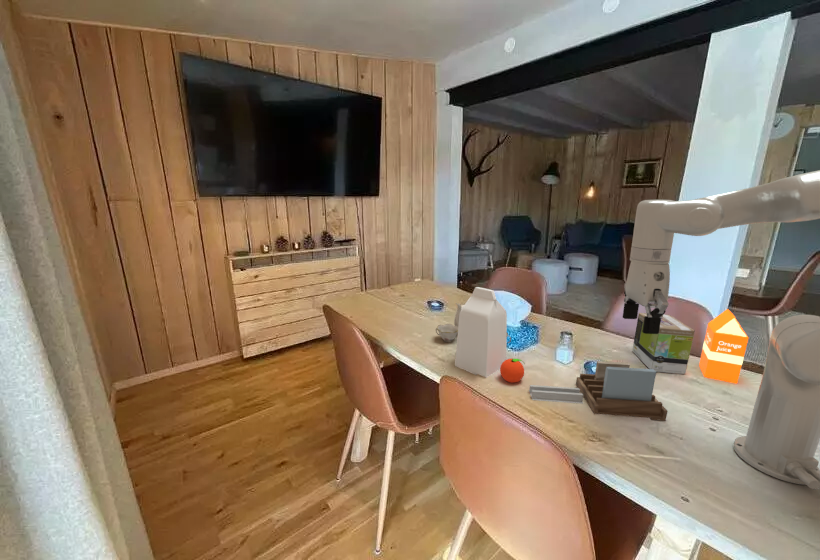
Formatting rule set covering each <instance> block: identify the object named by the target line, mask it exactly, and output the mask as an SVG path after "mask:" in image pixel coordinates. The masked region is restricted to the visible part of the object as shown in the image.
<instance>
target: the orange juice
mask: <svg viewBox="0 0 820 560" xmlns="http://www.w3.org/2000/svg"><path fill="white" fill-rule="evenodd" d="M748 343H749V336H748V335H747V333H746V332H745V330H744V329H743V328H742V326H741V324H740V322H739V321H738V320H737V319H736V316H735V315H734V313H732V312H731V310H729V308H726V309H725V310H724V311H723V312H721V313H720V314H718V315H717V316H715V318H713V319H711V320H710V321H709V322H708V323H707V327H706V331H705V337H704V340H703V345H702V350H701V354H700V359H699V363H698V364H699V365H698V366H699V368H700V371H701V373H702V376H703V377H704V378H707V379H710V380H711V379H712V380H715V381H722V382H727V383H732V384H738V381H739V378H740V373H741V369H742V365H743V362H744V360H745V359H744V358H745V353H746V350H747V345H748Z"/></svg>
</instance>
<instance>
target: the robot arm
mask: <svg viewBox="0 0 820 560" xmlns="http://www.w3.org/2000/svg"><path fill="white" fill-rule="evenodd" d="M814 220H820V169H819V170H815V171H814V170H813V171H810V172H809V171H808V172H805V173H799V174H796V175H791V176H787V177H783V178H780V179H777V180H774V181H771V182H768V183H764V184H760V185H757V186H752V187H748V188H742V189H739V190H737V189H736V190H734V191H729V192H724V193H720V194H718V193H717V194H714V195H709V196H705V197H700V198H699V197H698V198H695V199H690V200H689V199H688V200H678V201H677V200H676V201H675V200H673V199H644V200H641V201H639V203H638V204H637V206H636V212H635V220H634V227H633V235H632V239H631V240H632V241H631V242H632V243H631V247H630V255H629V261H630V264H629V269H628V272H627V273H628V274H627V278H626V282H624V285H623V286H624V292H623V295H624V299H623V303H624V304H623V313H622V319H624V320H636V319H637V320H638V315H639V307H640V306H642V307H644V309H645V313H646V314H647V316H645V317H644V323H643V330H642V332H643V333H644V334H658V333H659V328H660V322H661V318H663V314H665V315H666V311H667V308H668V307H669V302H668V300H669V293H670V292H669V291H670V284H671V283H670V281H671V278H670V276H671V270H670V260H671V253H672V248H673V242H674V235H675V234H680V235H685V236H691V237H693V236H694V237H702V236H707V235H710V234H713V233H714V232H716V231H717V230H719V229H726V228H733V227H738V226H743V225H744V226H745V225H752V224H754V225H755V224H762V223H795V222H796V223H797V222H808V221H809V222H810V221H814ZM652 308H654V309H652ZM753 406H754V407H753V409H752V410H753V411H752V413H751V416H750V421H749V424H748V427H747V433H746V435H745V436H742V435H741V436H739V437H736V438H735V439H734V441H733V449H734V451H735V452H736V454H737V455H738V457H740V459H742V460H743V461H744V462H745V463H746V464H748V465H750V466H751V467H753V468H754V469H756V470H758V471H760V472H762V473H763V474H766V475H768V476H771V477H773V478H776V479H778V480H781V481H784V482H788V483H791V484H797V485H806V486H807V487H808V488H809V489H810V490H818V489H819V488H820V468H819V467H818V465H819V464H820V463H819V460H817V459H816V458H815V454H816V452H817V448H818V445H819V442H820V316H819V315H814V314H797V315H792V316H789V317H786V318H784V319H782V320H781V321H780V322H778V323H777V324H776V325H775V326H774V328H773V330H772V331H771V333H770V337H769V342H768V347H767V354H766V360H765V364H764V368H763V373H762V377H761V381H760V384H759V388H758V391H757V395H756V399H755V402H754V405H753Z"/></svg>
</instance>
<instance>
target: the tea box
mask: <svg viewBox="0 0 820 560" xmlns="http://www.w3.org/2000/svg"><path fill="white" fill-rule="evenodd" d="M645 316H647V314H646V312H638V315H637V322H636V328H635V333H634V339H633V343H632V353H634V354H635V356H636V357H637V358H638V359H639V360H640V361H641V362H642V363H643V364H644V365H645V366H646V367H647V369H654V370H655V371H656V373H666V374H677V375H685V374H686V373H687V368H688V363H689V359H690V353H691V350H692V347H693V346H692V345H693V341H694V336H695V330H694V329H693V328H691V327H690V326H688V325H687V324H685V323H683V321H681V320H679V319H677V318H676V317H674V316H673V315H670V314H666V313H665V314H663V318H661V322H660V328H659V333H658V334H644V333H643V332H642V330H643V323H644V317H645Z"/></svg>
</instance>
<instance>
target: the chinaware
mask: <svg viewBox="0 0 820 560" xmlns="http://www.w3.org/2000/svg"><path fill="white" fill-rule="evenodd" d="M455 304H456V306H457V311H456V313H455V316H454V323H453V324H454V325H453V324H451V323H445V324H444V325H443V324H439V325H438V326H437V327H436V328H435V333H436V335H438V336H440V338H441V339H442V340H443V341H444V343H452V342H453V340H454V339H455V338H456V337H457V336H458V325H459V314H460V311H461V309H462V308H463V306H462V305H461V304H460V303H459V302H456V303H455ZM507 337H509V341H507V342H506V345H507V343H508V344H510V343H511V341H512V337H511V335H509V333H508V332H507Z"/></svg>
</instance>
